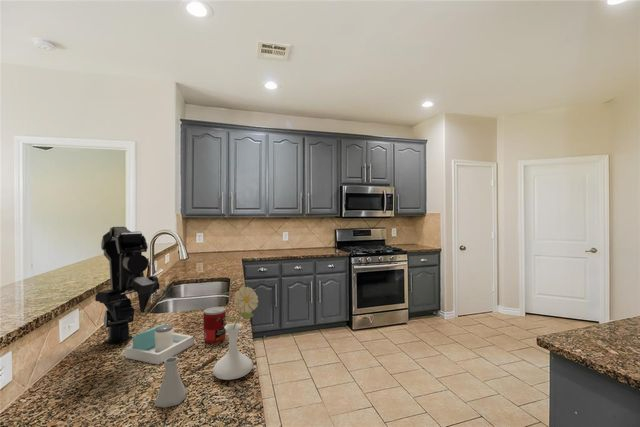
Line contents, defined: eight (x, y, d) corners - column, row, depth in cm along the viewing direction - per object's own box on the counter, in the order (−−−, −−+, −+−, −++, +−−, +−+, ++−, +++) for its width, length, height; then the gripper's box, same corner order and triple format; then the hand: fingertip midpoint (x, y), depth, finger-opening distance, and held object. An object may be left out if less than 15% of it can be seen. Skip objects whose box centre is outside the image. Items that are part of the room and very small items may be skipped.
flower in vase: (215, 388, 78) (215, 294, 78) (210, 369, 88) (210, 286, 89) (263, 376, 84) (263, 288, 85) (253, 359, 94) (252, 281, 95)
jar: (150, 352, 99) (150, 329, 99) (164, 345, 104) (164, 323, 104) (163, 354, 97) (163, 331, 97) (176, 347, 102) (177, 325, 102)
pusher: (132, 354, 97) (133, 336, 97) (164, 339, 108) (164, 323, 108) (135, 355, 96) (135, 336, 96) (166, 340, 108) (166, 323, 108)
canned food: (218, 344, 106) (218, 313, 106) (199, 342, 107) (199, 312, 108) (229, 335, 113) (229, 307, 113) (210, 334, 115) (210, 306, 115)
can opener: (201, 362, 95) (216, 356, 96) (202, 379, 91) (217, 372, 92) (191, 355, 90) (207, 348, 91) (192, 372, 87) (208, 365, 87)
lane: (118, 356, 97) (118, 347, 97) (157, 338, 111) (157, 330, 111) (158, 364, 91) (158, 354, 91) (193, 344, 106) (193, 336, 106)
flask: (162, 391, 77) (162, 353, 77) (191, 390, 78) (191, 352, 78) (148, 409, 70) (148, 367, 70) (180, 407, 70) (180, 366, 70)
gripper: (120, 276, 86) (120, 329, 86) (171, 266, 104) (171, 310, 104) (94, 273, 90) (93, 325, 90) (147, 264, 108) (147, 307, 107)
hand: (130, 316), depth 97 cm, fingers open, 9 cm apart
